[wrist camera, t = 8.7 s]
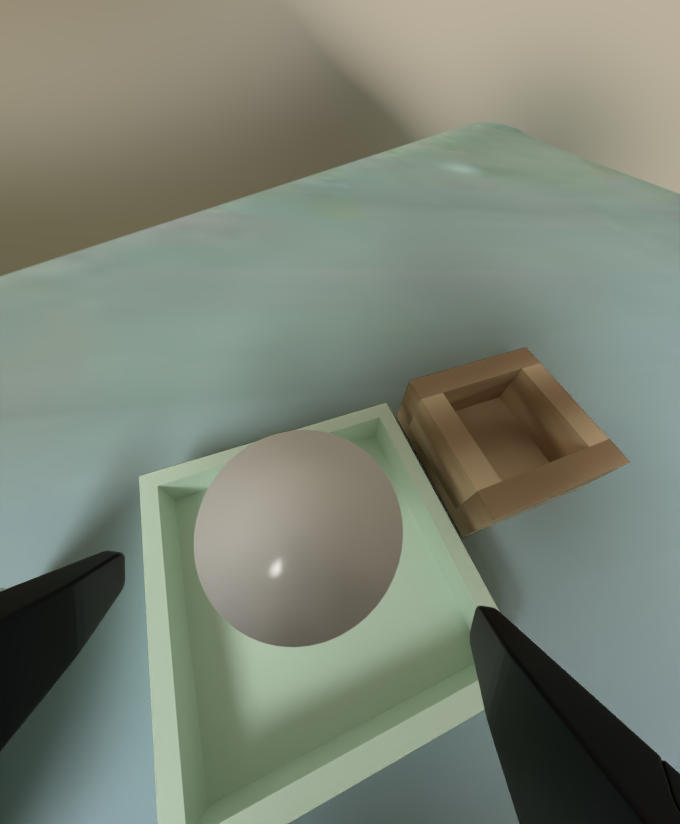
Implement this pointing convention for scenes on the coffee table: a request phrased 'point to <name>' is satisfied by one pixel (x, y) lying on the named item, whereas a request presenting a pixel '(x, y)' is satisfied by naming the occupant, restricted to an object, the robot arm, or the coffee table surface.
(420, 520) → the parts tray
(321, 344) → the coffee table surface
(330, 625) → the ball
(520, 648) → the robot arm
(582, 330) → the coffee table surface
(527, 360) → the tan square frame block
